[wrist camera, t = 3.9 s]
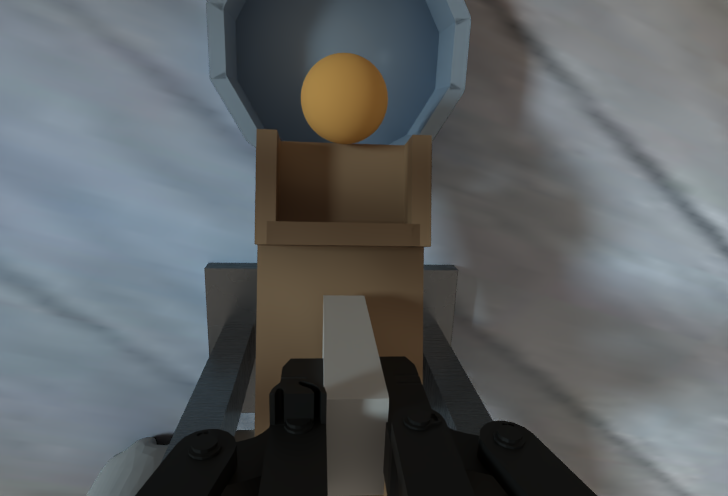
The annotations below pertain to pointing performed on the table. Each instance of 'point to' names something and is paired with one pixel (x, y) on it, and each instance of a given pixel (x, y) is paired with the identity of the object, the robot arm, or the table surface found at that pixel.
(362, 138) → the ball
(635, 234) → the table surface
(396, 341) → the lever
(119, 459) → the bottle
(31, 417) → the table surface
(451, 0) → the bowl
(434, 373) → the fulcrum
